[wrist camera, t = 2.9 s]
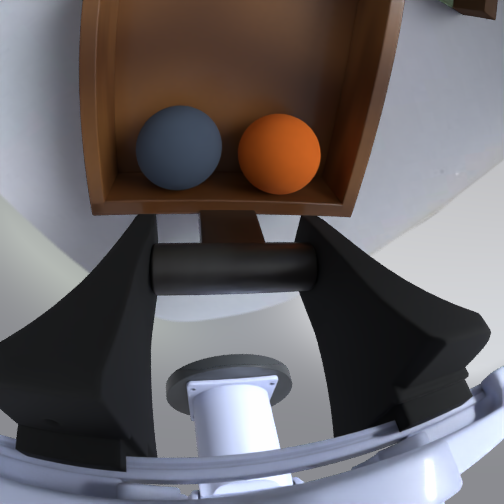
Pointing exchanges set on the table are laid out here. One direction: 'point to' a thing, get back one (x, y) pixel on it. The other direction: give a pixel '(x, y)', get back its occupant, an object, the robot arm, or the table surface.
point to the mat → (474, 7)
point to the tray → (233, 120)
